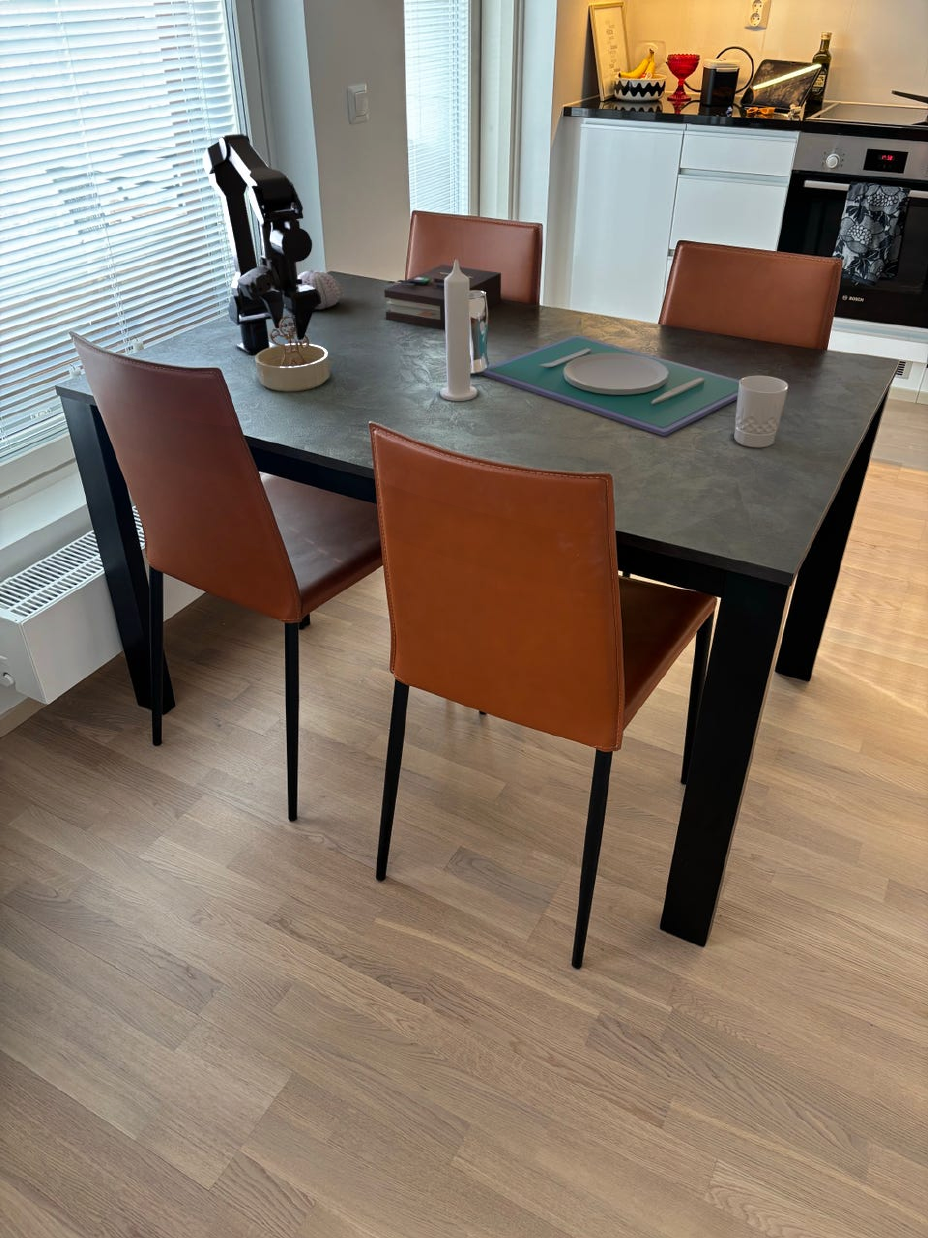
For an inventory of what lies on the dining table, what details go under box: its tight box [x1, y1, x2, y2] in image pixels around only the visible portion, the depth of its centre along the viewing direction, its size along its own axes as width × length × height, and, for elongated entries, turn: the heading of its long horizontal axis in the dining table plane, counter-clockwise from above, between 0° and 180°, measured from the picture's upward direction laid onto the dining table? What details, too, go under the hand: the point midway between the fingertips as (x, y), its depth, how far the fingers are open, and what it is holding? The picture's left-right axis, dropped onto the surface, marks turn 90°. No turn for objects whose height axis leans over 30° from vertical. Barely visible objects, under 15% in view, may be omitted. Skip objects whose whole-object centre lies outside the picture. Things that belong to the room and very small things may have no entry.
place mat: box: [480, 334, 741, 437], centre depth 184 cm, size 45×30×2 cm
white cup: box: [733, 375, 789, 448], centre depth 159 cm, size 8×8×10 cm
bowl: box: [254, 343, 331, 392], centre depth 187 cm, size 14×14×5 cm
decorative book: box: [383, 264, 502, 330], centre depth 224 cm, size 19×8×30 cm
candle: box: [439, 259, 478, 402], centre depth 174 cm, size 7×7×25 cm
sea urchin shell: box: [296, 269, 343, 310], centre depth 229 cm, size 13×14×8 cm
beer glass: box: [469, 290, 490, 375], centre depth 187 cm, size 7×7×15 cm
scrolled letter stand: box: [269, 315, 310, 367], centre depth 185 cm, size 9×4×12 cm, turn 127°
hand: (289, 333), depth 183 cm, fingers open, 9 cm apart
